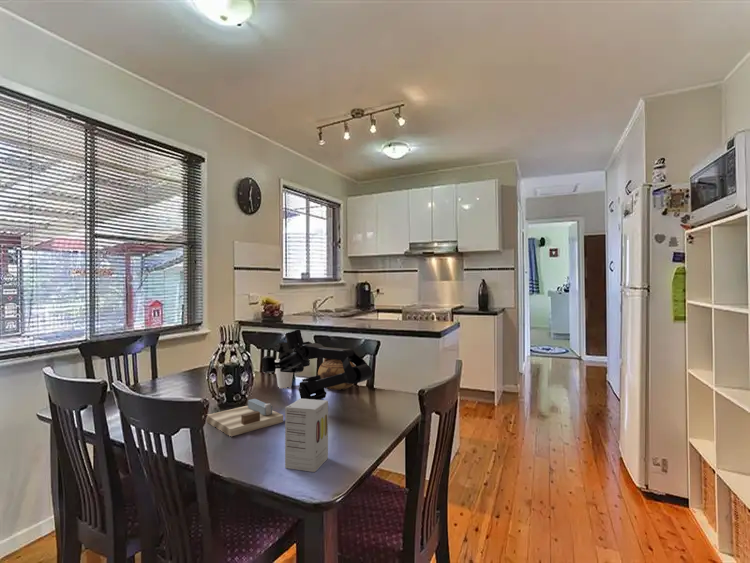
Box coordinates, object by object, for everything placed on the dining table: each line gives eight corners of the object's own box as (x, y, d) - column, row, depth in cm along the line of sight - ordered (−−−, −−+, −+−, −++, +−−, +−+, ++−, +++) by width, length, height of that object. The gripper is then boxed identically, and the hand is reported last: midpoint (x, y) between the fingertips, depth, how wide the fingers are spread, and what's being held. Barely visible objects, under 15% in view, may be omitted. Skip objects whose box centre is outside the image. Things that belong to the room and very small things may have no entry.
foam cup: (291, 389, 190) (291, 362, 190) (272, 389, 190) (272, 362, 190) (296, 384, 200) (296, 358, 200) (277, 384, 200) (277, 358, 200)
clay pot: (367, 379, 198) (359, 344, 191) (347, 402, 183) (338, 365, 176) (335, 374, 208) (327, 340, 201) (314, 396, 193) (304, 360, 186)
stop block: (259, 420, 139) (259, 412, 139) (243, 425, 135) (243, 416, 135) (257, 419, 141) (257, 411, 141) (241, 423, 137) (241, 414, 137)
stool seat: (283, 421, 145) (283, 415, 145) (230, 436, 131) (230, 429, 131) (256, 409, 160) (256, 403, 160) (206, 421, 146) (206, 415, 146)
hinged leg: (273, 414, 146) (273, 404, 146) (265, 415, 144) (265, 406, 144) (254, 405, 156) (254, 396, 156) (247, 407, 154) (247, 397, 154)
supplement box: (315, 473, 106) (315, 409, 106) (284, 468, 109) (283, 407, 109) (329, 457, 115) (328, 399, 115) (299, 454, 118) (299, 397, 118)
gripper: (309, 340, 169) (286, 352, 177) (272, 338, 155) (250, 351, 163) (313, 366, 164) (290, 377, 173) (276, 366, 150) (252, 378, 159)
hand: (271, 370), depth 167 cm, fingers open, 9 cm apart
